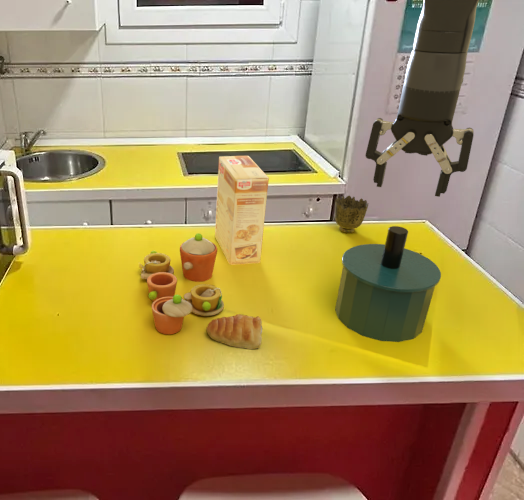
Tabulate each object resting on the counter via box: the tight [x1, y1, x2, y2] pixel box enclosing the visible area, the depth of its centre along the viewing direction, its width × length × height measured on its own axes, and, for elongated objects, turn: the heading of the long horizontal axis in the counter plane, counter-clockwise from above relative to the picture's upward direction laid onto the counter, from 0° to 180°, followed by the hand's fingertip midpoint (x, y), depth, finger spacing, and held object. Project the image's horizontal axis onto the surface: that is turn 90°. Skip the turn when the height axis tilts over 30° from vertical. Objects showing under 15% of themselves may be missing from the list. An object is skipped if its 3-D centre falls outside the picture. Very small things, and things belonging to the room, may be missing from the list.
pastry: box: [206, 313, 263, 350], centre depth 87 cm, size 9×7×4 cm
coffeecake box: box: [214, 155, 270, 266], centre depth 111 cm, size 15×7×20 cm, turn 8°
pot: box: [334, 266, 436, 343], centre depth 90 cm, size 15×15×10 cm
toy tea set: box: [138, 232, 225, 335], centre depth 96 cm, size 26×16×10 cm, turn 7°
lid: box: [341, 225, 442, 292], centre depth 86 cm, size 16×16×8 cm
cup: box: [334, 195, 369, 235], centre depth 122 cm, size 8×7×8 cm
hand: (408, 190), depth 82 cm, fingers open, 8 cm apart
